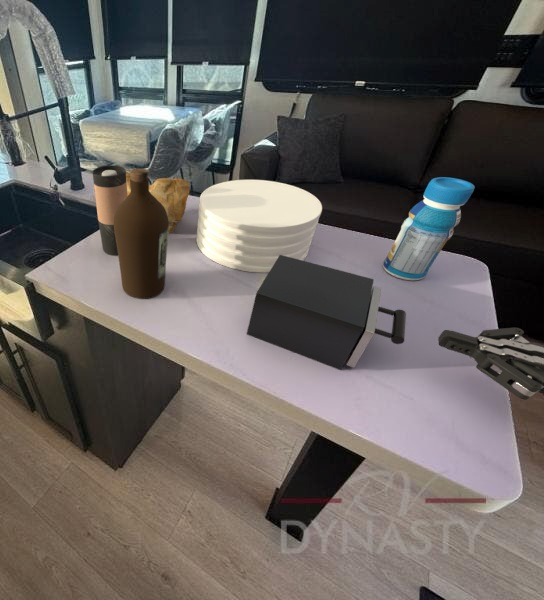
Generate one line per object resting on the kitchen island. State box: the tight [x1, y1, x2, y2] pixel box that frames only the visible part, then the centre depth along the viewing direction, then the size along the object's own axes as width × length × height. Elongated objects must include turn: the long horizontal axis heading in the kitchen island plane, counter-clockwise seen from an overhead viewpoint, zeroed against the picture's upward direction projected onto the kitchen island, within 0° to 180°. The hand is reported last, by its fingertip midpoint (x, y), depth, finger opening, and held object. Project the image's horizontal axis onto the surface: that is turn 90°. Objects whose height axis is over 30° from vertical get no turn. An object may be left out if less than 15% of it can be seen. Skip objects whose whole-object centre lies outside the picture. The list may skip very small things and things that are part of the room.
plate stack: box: [196, 179, 323, 273], centre depth 82 cm, size 28×28×12 cm
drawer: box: [345, 286, 407, 369], centre depth 56 cm, size 19×13×8 cm, turn 57°
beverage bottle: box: [382, 176, 476, 281], centre depth 68 cm, size 8×8×20 cm
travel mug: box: [92, 164, 128, 256], centre depth 79 cm, size 8×8×20 cm
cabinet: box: [246, 255, 375, 371], centre depth 58 cm, size 16×14×10 cm
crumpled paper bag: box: [126, 171, 191, 234], centre depth 93 cm, size 23×17×15 cm
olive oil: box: [114, 168, 169, 300], centre depth 65 cm, size 11×11×25 cm
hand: (441, 337), depth 49 cm, fingers closed
